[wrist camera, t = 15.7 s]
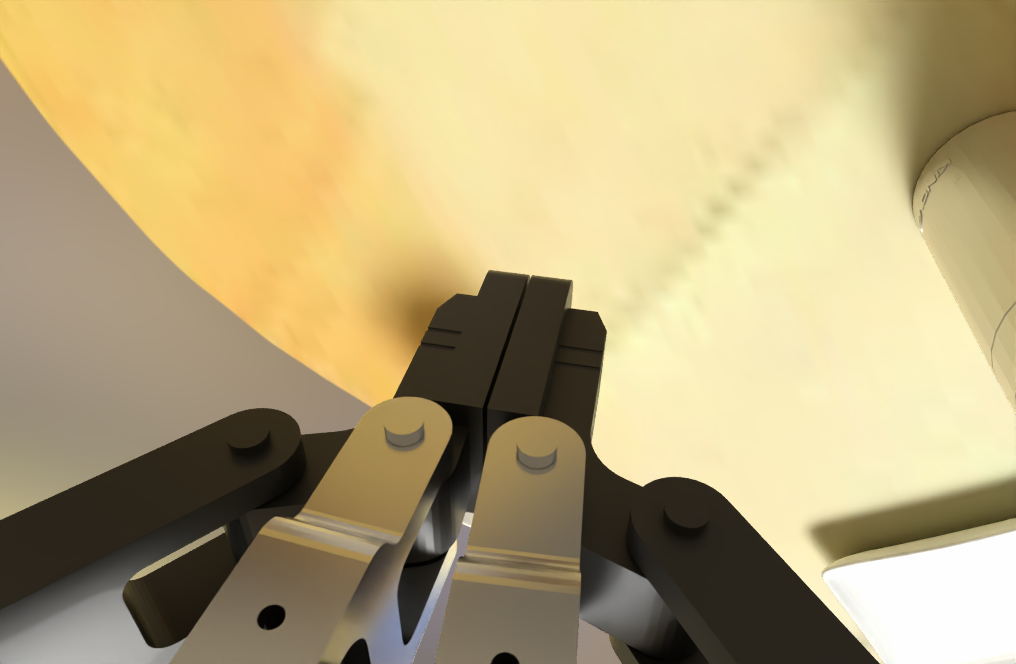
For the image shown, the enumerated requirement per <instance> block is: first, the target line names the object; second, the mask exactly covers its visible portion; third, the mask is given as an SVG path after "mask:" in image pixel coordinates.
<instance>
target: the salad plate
mask: <svg viewBox="0 0 1016 664" xmlns="http://www.w3.org/2000/svg"><path fill="white" fill-rule="evenodd" d="M822 578H823V580H824V581H825V583H826V584H827V586H828V587H829V589H830V590H831V592H832V593H833V594H834V595H835V597H836V598H837V599H838V601H839V602H840V603H841V605H842V606H843V607H844V609H845V610H846V611H847V613H848V614H849V615H850V616H851V618H852V619H853V620H854V622H855V623H856V625H857V626H858V627H859V628H860V630H861V631H862V633H863V634H864V635H865V637H866V638H867V639H868V641H869V642H870V644H871V645H872V646H873V648H874V649H875V651H876V652H877V653H878V655H879V656H880V658H881V659H882V661H883V663H884V664H1016V518H1013V519H1009V520H1005V521H1001V522H996V523H992V524H988V525H983V526H979V527H975V528H971V529H966V530H962V531H958V532H954V533H949V534H945V535H941V536H936V537H932V538H927V539H923V540H918V541H914V542H909V543H904V544H900V545H895V546H890V547H885V548H880V549H875V550H870V551H865V552H861V553H857V554H853V555H850V556H846V557H843V558H841V559H838V560H836V561H834V562H832V563H831V564H829V565H828V566H827V567H826V568H825V569H824V570H823V571H822Z"/></svg>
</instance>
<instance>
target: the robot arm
mask: <svg viewBox="0 0 1016 664" xmlns="http://www.w3.org/2000/svg"><path fill="white" fill-rule="evenodd" d="M913 213H914V217H915V221H916V224H917V227H918V229H919V230H920V232H921V234H922V236H923V238H924V240H925V242H926V244H927V246H928V248H929V250H930V251H931V253H932V255H933V258H934V260H935V262H936V264H937V266H938V268H939V269H940V271H941V273H942V275H943V277H944V279H945V281H946V283H947V285H948V287H949V289H950V290H951V292H952V294H953V296H954V298H955V300H956V302H957V304H958V306H959V308H960V310H961V312H962V313H963V315H964V317H965V319H966V321H967V323H968V325H969V327H970V329H971V331H972V333H973V335H974V336H975V338H976V340H977V342H978V344H979V346H980V348H981V350H982V352H983V354H984V356H985V358H986V359H987V361H988V363H989V365H990V367H991V369H992V371H993V373H994V375H995V377H996V379H997V380H998V382H999V384H1000V386H1001V388H1002V389H1003V391H1004V393H1005V395H1006V397H1007V399H1008V401H1009V403H1010V405H1011V407H1012V409H1013V411H1014V412H1015V414H1016V111H1011V112H1007V113H1003V114H1000V115H996V116H992V117H989V118H987V119H985V120H982V121H980V122H978V123H976V124H973V125H971V126H969V127H968V128H966V129H965V130H963V131H961V132H960V133H958V134H957V135H955V136H954V137H952V138H951V139H950V140H949V141H948V142H947V143H945V144H944V145H943V146H942V147H941V148H940V149H939V150H938V151H937V152H936V153H935V154H934V155H933V157H932V158H931V159H930V161H929V162H928V163H927V164H926V166H925V167H924V169H923V171H922V173H921V175H920V177H919V179H918V181H917V184H916V188H915V192H914V195H913ZM572 290H573V281H572V280H566V279H558V278H550V277H542V276H534V275H532V276H531V279H530V275H525V274H517V273H509V272H501V271H493V270H489V271H488V273H487V275H486V277H485V279H484V282H483V284H482V286H481V289H480V291H479V293H478V296H471V295H464V294H456V295H455V296H453V297H452V298H451V299H449V300H448V301H447V302H445V303H444V304H443V305H441V306H440V307H439V308H438V309H437V311H436V313H435V315H434V317H433V319H432V321H431V323H430V325H429V327H428V331H426V333H425V335H424V337H423V339H422V341H421V346H419V347H418V349H417V351H416V353H415V355H414V357H413V359H412V361H411V363H410V365H409V367H408V369H407V371H406V373H405V375H404V377H403V379H402V382H401V384H400V386H399V388H398V390H397V392H396V394H395V396H394V398H393V399H390V400H387V401H384V402H382V403H379V404H377V405H376V406H374V407H373V408H371V409H370V410H369V411H367V412H366V413H365V414H364V416H363V417H362V418H361V419H360V421H359V423H358V424H357V426H356V427H355V428H353V429H349V430H345V431H338V432H327V433H316V434H305V435H301V432H300V428H299V425H298V424H297V422H296V421H295V420H294V419H293V418H292V417H291V416H290V415H288V414H286V413H284V412H282V411H279V410H275V409H268V408H256V409H249V410H244V411H241V412H237V413H235V414H233V415H230V416H228V417H226V418H223V419H221V420H219V421H217V422H214V423H212V424H210V425H208V426H206V427H203V428H202V429H199V430H197V431H195V432H193V433H190V434H189V435H186V436H184V437H182V438H179V439H177V440H175V441H173V442H171V443H168V444H166V445H165V446H162V447H160V448H157V449H156V450H153V451H151V452H149V453H146V454H144V455H142V456H140V457H138V458H136V459H133V460H131V461H129V462H127V463H125V464H122V465H120V466H118V467H116V468H114V469H111V470H109V471H107V472H105V473H103V474H100V475H99V476H96V477H94V478H92V479H90V480H88V481H85V482H83V483H81V484H79V485H76V486H74V487H72V488H70V489H68V490H65V491H63V492H61V493H59V494H57V495H54V496H52V497H50V498H48V499H46V500H44V501H41V502H39V503H37V504H35V505H33V506H30V507H28V508H26V509H24V510H22V511H19V512H17V513H15V514H13V515H11V516H9V517H6V518H4V519H2V520H0V664H412V663H413V660H414V656H415V654H416V651H417V649H418V646H419V644H420V641H421V639H422V636H423V634H424V632H425V629H426V627H427V624H428V622H429V619H430V617H431V614H432V612H433V610H434V607H435V605H436V602H437V600H438V597H439V595H440V592H441V590H442V587H443V585H444V582H445V580H446V577H447V575H448V572H449V570H450V567H451V565H452V563H453V560H454V557H455V555H456V551H457V537H458V534H459V532H460V528H461V525H462V522H463V519H464V516H465V513H466V512H469V513H474V515H473V520H472V525H471V530H470V534H469V539H468V545H467V549H466V553H465V556H464V557H462V556H461V557H459V559H458V561H457V564H456V568H455V571H454V576H453V579H452V584H451V589H450V594H449V598H448V603H447V607H446V612H445V616H444V621H443V626H442V630H441V635H440V639H439V644H438V649H437V653H436V658H435V662H434V664H577V646H578V627H579V618H580V619H582V620H584V621H586V622H588V623H589V624H591V625H593V626H595V627H597V628H599V629H600V630H602V631H604V632H606V633H608V634H609V637H610V641H611V644H612V647H613V649H614V651H615V653H616V655H617V656H618V658H619V659H620V661H621V663H622V664H879V662H878V661H877V660H876V659H875V658H874V657H873V656H872V655H871V654H870V653H869V652H868V651H867V650H866V648H865V647H864V646H863V645H862V644H861V643H860V642H859V641H858V640H857V639H856V638H855V637H854V636H853V634H852V633H851V632H850V631H849V630H848V629H847V628H846V627H845V626H844V625H843V624H842V623H841V622H840V620H839V619H838V618H837V617H836V616H835V615H834V614H833V613H832V612H831V611H830V610H829V609H828V608H827V606H826V605H825V604H824V603H823V602H822V601H821V600H820V599H819V598H818V597H817V596H816V595H815V594H814V592H813V591H812V590H811V589H810V588H809V587H808V586H807V585H806V584H805V583H804V582H803V581H802V580H801V578H800V577H799V576H798V575H797V574H796V573H795V572H794V571H793V570H792V569H791V568H790V567H789V566H788V564H787V563H786V562H785V561H784V560H783V559H782V558H781V557H780V556H779V555H778V554H777V553H776V552H775V551H774V549H773V548H772V547H771V546H770V545H769V544H768V543H767V542H766V541H765V540H764V539H763V538H762V537H761V535H760V534H759V533H758V532H757V531H756V530H755V529H754V528H753V527H752V526H751V525H750V524H749V523H748V521H747V520H746V519H745V518H744V517H743V516H742V515H741V514H740V513H739V512H738V511H737V510H736V509H735V507H734V506H733V505H732V504H731V503H730V502H729V501H728V500H727V499H726V498H725V497H724V496H723V495H722V494H721V493H719V492H718V491H716V490H715V489H714V488H712V487H710V486H708V485H706V484H704V483H702V482H699V481H696V480H692V479H689V478H682V477H667V478H661V479H657V480H654V481H652V482H650V483H648V484H646V485H645V486H644V487H642V486H639V485H637V484H635V483H633V482H631V481H628V480H626V479H624V478H622V477H620V476H618V475H617V474H615V473H614V472H612V471H611V470H609V469H608V468H607V467H606V466H605V465H604V464H603V463H602V462H601V461H600V459H599V458H598V457H597V455H596V453H595V452H594V449H593V447H592V444H591V442H592V435H593V429H594V423H595V416H596V410H597V403H598V397H599V389H600V381H601V373H602V365H603V358H604V350H605V342H606V334H607V330H606V328H605V326H604V324H603V322H602V320H601V318H600V316H599V314H598V312H594V311H586V310H579V309H571V302H572ZM222 526H223V527H224V529H225V533H223V534H221V535H220V536H218V537H216V538H214V539H212V540H210V541H208V542H207V543H205V544H203V545H201V546H199V547H197V548H196V549H194V550H192V551H190V552H188V553H186V554H185V555H183V556H181V557H179V558H177V559H175V560H174V561H172V562H170V563H168V564H166V565H164V566H162V567H161V568H159V569H157V570H155V571H153V572H151V573H150V574H148V575H146V576H144V577H142V578H139V579H136V580H130V579H131V578H132V577H133V576H134V575H135V574H136V573H137V572H139V571H140V570H142V569H143V568H145V567H147V566H149V565H151V564H153V563H154V562H156V561H158V560H160V559H162V558H164V557H166V556H167V555H169V554H171V553H173V552H175V551H177V550H179V549H181V548H183V547H184V546H186V545H188V544H190V543H192V542H194V541H196V540H197V539H199V538H201V537H203V536H205V535H207V534H209V533H210V532H212V531H214V530H216V529H218V528H219V527H222ZM129 580H130V581H129Z"/></svg>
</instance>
